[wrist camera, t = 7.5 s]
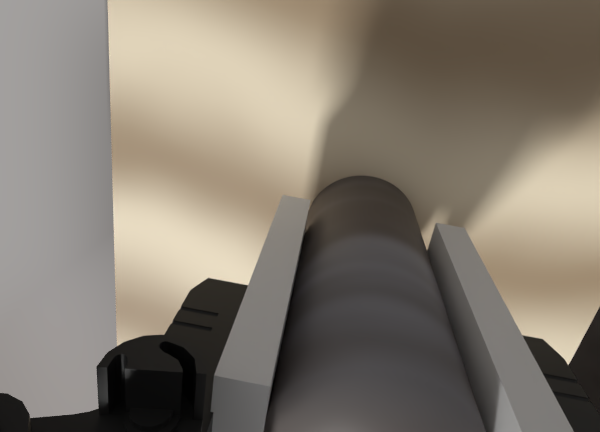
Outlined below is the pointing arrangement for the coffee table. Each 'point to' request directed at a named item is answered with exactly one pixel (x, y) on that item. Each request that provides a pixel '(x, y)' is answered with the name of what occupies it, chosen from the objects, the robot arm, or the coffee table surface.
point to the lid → (359, 181)
